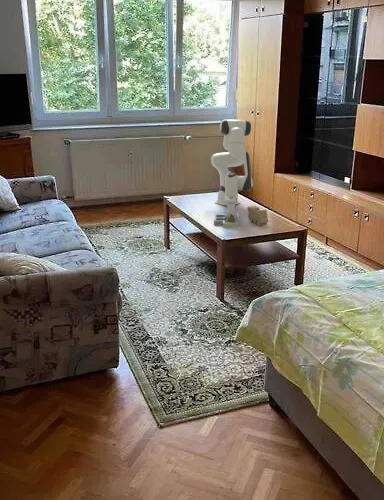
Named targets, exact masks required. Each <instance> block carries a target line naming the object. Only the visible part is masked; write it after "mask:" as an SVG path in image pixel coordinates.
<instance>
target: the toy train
mask: <svg viewBox="0 0 384 500" xmlns="http://www.w3.org/2000/svg"><path fill="white" fill-rule="evenodd" d="M260 208H261V207H260V206H257V205H250V206H247V212H248V213H247V215H248V216H247V218H248V221H249V223H250V222H251V223H252V222H253V223H254V224H257V225H258V226H263V225H266V224H267V223H270V222H269V221H270V220H269V218H268V213H267V212H268V211H267V209H260Z"/></svg>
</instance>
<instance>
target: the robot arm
mask: <svg viewBox="0 0 384 500" xmlns="http://www.w3.org/2000/svg"><path fill="white" fill-rule="evenodd" d="M252 130H253V129H252V123H251V122H250V121H249V120H243V119H227V118H225V119H222V120H221V121H220V124H219V133H220V134H222V135H224V137H223V141H222V146H223V148H224V149H225V150H227V152H225V151H224V152H217V153H213V154H212V155H211V158H210V161H211V162H210V163H211V165H212V167H214V168H215V169H216V170H217V171H218V173H219V180H220V181H219V182H220V184H219V191H218V192H217V200H215V204H217V205H220V206H221V205H222V206H227V215H235V209H236V205H237V204H240V203H241V201H240V200H239V199H238V198H239V191H243V192H249V191H250V190H251V189H253V187H254V180H253V178H252V168H251V167H252V166H251V158H250V155H249V152H248V151H247V150H246V147H245V142H246V141H245V137H247V136H249V135H251V132H252ZM242 165H243V167H244V173H245V174H244V175H238V174H237V173H235V172H232V171H230V170H229V168H231V167H233V168H234V167H235V168H236V167H239V166H242Z"/></svg>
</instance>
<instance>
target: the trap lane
mask: <svg viewBox="0 0 384 500" xmlns="http://www.w3.org/2000/svg"><path fill="white" fill-rule="evenodd" d="M239 218H240V217H239V212H236V222H235V223H227V222H226V212H223V213H222V214H217V213H216V214H214V219H213V225H214V226H222V228H226V229H229V228H230V229H232V228H235V229H236V228H237V229H239V228H240V225H239V224H240V222H239V221H240V219H239Z"/></svg>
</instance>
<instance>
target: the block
mask: <svg viewBox="0 0 384 500" xmlns="http://www.w3.org/2000/svg"><path fill="white" fill-rule="evenodd" d="M226 218H227V219H226V223H236V215H235V214H233V215H230V214H227V217H226Z"/></svg>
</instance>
